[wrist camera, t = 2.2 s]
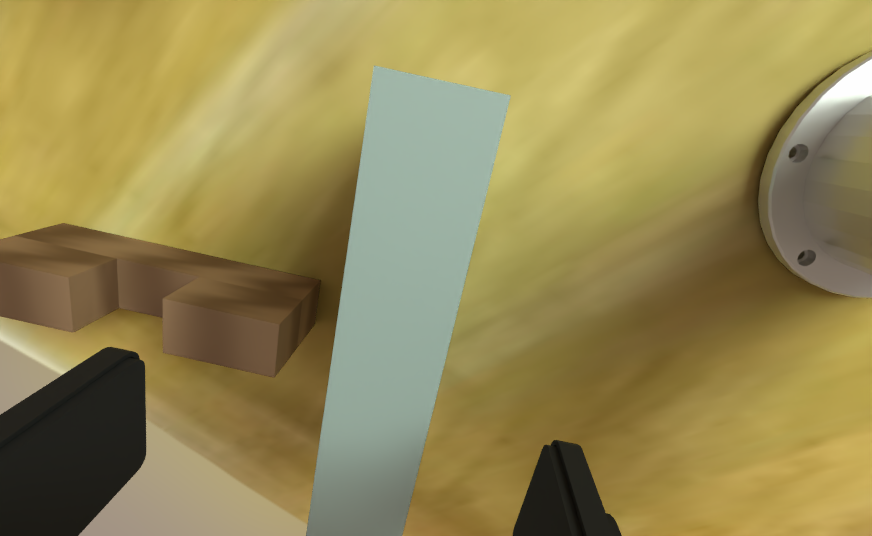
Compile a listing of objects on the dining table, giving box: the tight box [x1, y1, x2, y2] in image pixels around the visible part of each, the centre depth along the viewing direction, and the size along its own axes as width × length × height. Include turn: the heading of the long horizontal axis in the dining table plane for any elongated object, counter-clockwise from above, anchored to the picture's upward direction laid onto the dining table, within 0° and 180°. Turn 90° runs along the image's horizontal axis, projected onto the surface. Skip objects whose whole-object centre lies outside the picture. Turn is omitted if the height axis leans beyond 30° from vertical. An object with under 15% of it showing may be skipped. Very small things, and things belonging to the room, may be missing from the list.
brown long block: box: [0, 223, 321, 377], centre depth 24 cm, size 16×3×6 cm, turn 78°
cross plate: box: [306, 66, 510, 536], centre depth 19 cm, size 16×3×14 cm, turn 168°
